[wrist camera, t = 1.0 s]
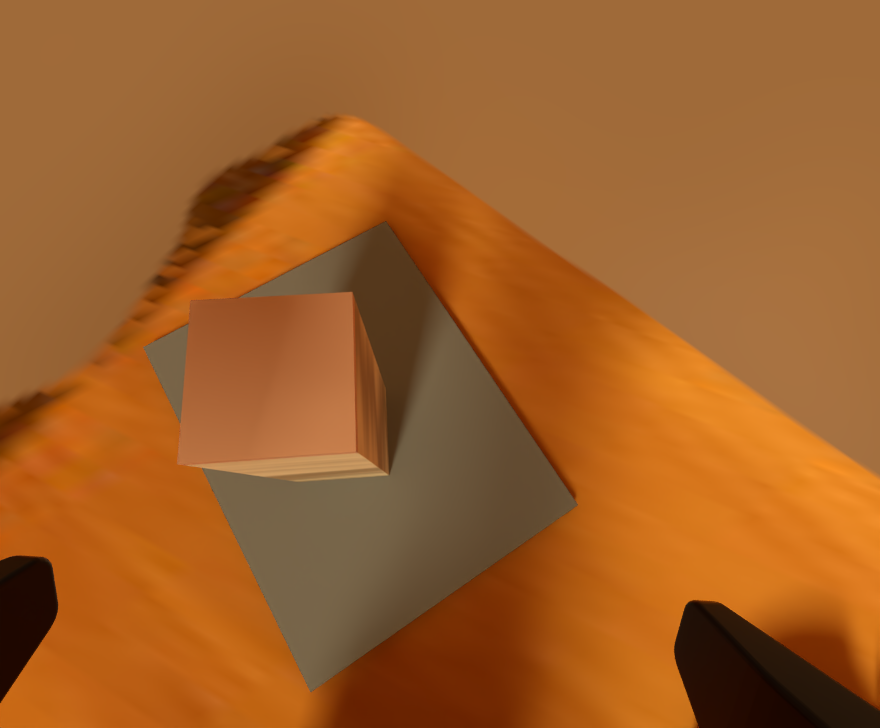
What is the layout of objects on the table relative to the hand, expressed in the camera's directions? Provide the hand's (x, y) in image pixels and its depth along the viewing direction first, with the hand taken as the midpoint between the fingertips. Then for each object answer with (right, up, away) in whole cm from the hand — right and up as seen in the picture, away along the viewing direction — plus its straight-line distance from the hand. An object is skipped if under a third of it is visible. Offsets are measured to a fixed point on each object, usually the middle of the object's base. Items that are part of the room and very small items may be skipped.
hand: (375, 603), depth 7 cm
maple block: (-4, 0, +17) cm, 18 cm away
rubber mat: (-4, 0, +18) cm, 19 cm away
